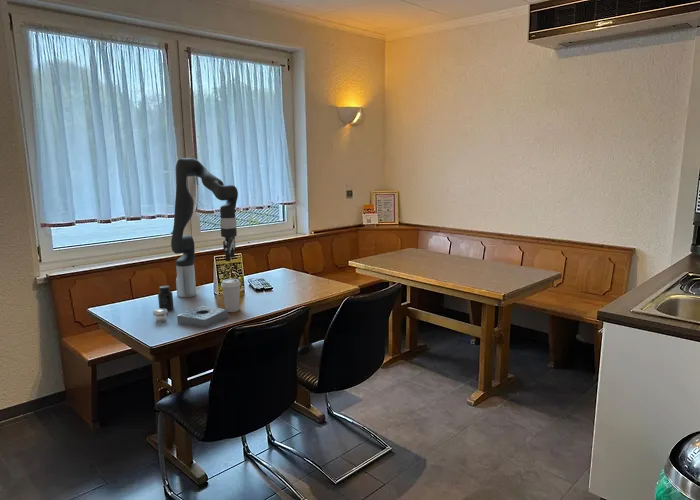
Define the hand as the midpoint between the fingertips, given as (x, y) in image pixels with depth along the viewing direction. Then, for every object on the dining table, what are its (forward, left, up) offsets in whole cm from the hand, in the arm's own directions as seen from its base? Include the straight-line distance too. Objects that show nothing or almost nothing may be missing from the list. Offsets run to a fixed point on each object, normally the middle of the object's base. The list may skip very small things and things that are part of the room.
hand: (230, 259), depth 244 cm
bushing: (-20, -29, -25) cm, 43 cm away
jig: (-2, -21, -25) cm, 32 cm away
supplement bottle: (-30, -15, -25) cm, 42 cm away
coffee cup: (+1, -3, -25) cm, 25 cm away
